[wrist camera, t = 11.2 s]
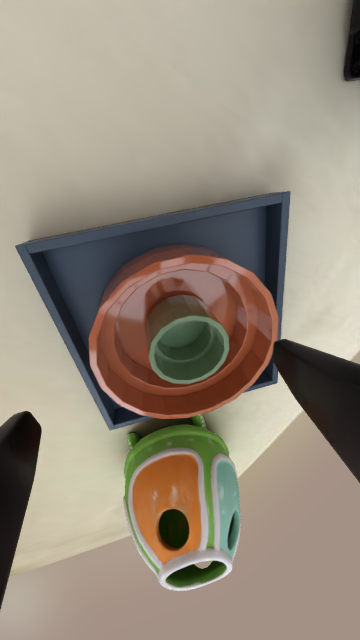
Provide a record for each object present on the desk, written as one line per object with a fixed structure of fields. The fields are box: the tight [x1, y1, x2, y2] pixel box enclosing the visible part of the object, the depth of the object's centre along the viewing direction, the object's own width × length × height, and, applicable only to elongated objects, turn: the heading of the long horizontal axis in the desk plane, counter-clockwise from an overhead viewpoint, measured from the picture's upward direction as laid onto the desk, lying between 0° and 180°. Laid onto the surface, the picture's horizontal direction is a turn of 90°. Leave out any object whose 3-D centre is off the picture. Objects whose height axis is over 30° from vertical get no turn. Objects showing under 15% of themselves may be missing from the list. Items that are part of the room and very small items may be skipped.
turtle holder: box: [123, 414, 241, 591], centre depth 25 cm, size 12×18×12 cm
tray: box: [15, 191, 290, 430], centre depth 20 cm, size 18×18×2 cm
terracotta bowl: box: [89, 243, 279, 419], centre depth 19 cm, size 14×14×5 cm
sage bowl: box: [145, 295, 229, 384], centre depth 18 cm, size 6×6×4 cm
